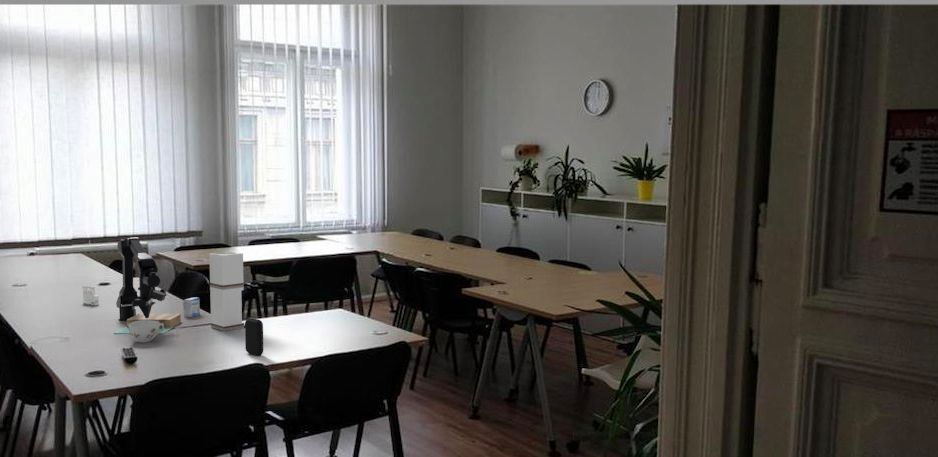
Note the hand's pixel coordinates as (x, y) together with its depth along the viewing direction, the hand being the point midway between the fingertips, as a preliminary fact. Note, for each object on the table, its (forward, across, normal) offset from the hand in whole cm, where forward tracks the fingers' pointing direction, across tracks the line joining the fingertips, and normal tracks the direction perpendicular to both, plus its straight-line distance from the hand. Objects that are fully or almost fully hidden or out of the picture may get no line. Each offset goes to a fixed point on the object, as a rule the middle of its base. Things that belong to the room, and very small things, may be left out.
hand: (147, 318), depth 366 cm
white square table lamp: (+5, +4, -36) cm, 37 cm away
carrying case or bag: (+5, -48, -61) cm, 77 cm away
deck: (+5, +8, 0) cm, 10 cm away
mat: (+5, -4, 0) cm, 7 cm away
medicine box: (+5, +32, -10) cm, 33 cm away
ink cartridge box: (+5, +62, +54) cm, 82 cm away
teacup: (+5, -24, -9) cm, 26 cm away
